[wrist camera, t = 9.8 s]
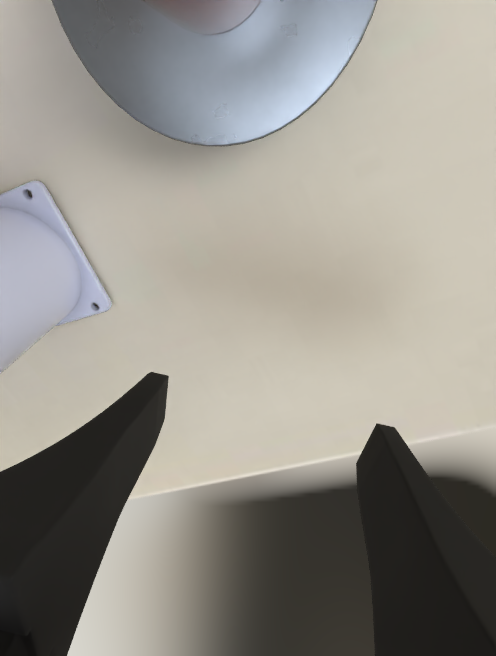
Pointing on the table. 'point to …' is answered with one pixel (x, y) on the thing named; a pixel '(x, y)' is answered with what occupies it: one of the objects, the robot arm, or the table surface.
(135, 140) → the table surface
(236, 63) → the steel stand
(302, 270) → the table surface
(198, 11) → the spice jar
